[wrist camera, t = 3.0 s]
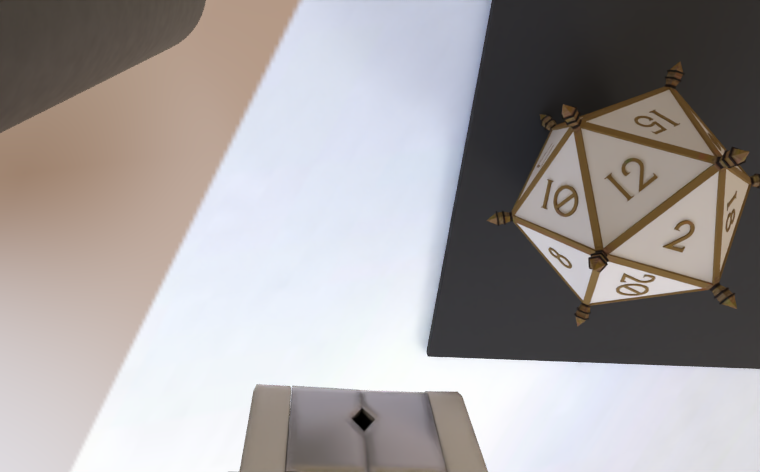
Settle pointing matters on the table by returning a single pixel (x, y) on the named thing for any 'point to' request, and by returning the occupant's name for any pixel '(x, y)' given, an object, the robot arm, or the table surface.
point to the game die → (634, 200)
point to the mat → (523, 145)
